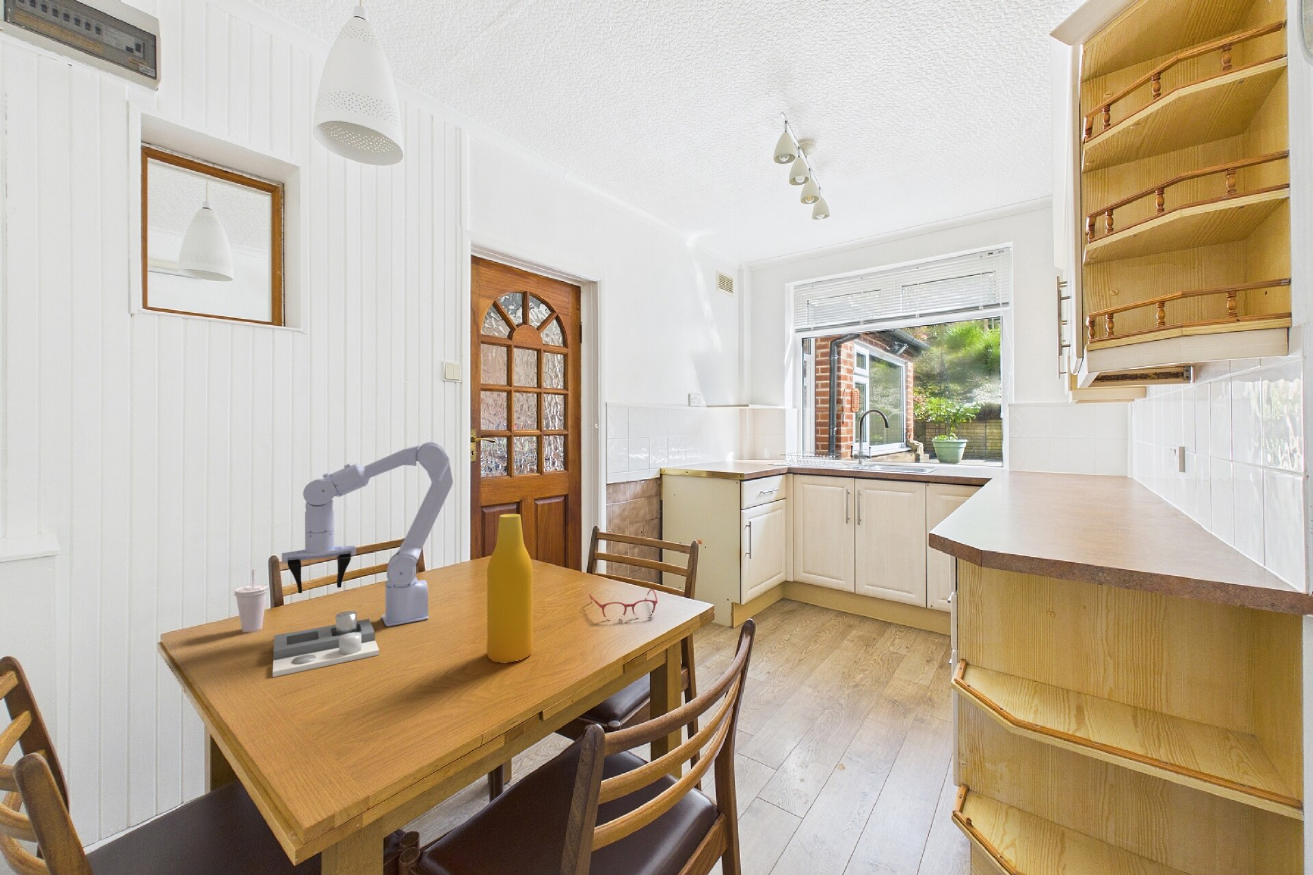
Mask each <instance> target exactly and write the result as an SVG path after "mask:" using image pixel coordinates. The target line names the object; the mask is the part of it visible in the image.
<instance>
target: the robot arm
mask: <svg viewBox="0 0 1313 875" xmlns="http://www.w3.org/2000/svg"><path fill="white" fill-rule="evenodd" d="M444 449H445V448H443V447H442V445H440V444H438V443H436V442H433V441H430V442H429V441H428V442H425V443H423V444H421V445H418V444H417V445H415V446H410V447H408V448H403V449H401V450H398V451H397V452H394V453H392V454H390V455H388V456H385V457H382V458H380V459H377V460H375V461H374V462H372V463H369V464H367V465H362V464H358V463H354V464H351V463H348V464H347V463H346V464H345V465H344V468H342V469H340V470H337V471H334V472H332V473H327V472H326V473H325V474H323V475H322V477H323V478H317V479H314V480H312V481H311V482H309V483H307V484H306V485H305V487H303V488H304V489H303V492H302V496H303V499H304V501H305V504H304V505H305V506H304V507H305V512H304V549H300V550H294V551H288V552H282V553H281V563H282V564H284V563H285V564H287V567H288V569H289V571H290V572H291V574H292V576H293V578H294V581H295V583H296V587H297V590H298V591H297V592H298V594H303V584H302V561H306V560H308V561H309V560H317V559H324V558H325V559H326V558H334V557H336V559H337V561H336V562H337V574H336V587H337V589H339V588H342V584H343V579H344V576H345V573H346V571H347V569H348V566H349V564H350V563H351V561H352V557H351V556H356V555H357V547H356V545H344V546H339V545H338V546H335V511H334V498H335V497H337V498H338V497H339V498H340V497H342V496H344V495H345V496H346V495H348V494H349V493H352V492H354V491H357V490H358V489H361V488H365V487H366V486H368V485H369V481H370V480H371V478H373V477H376V476H379V475H382V474H383V473H386V472H389V471H391V470H395V469H397V468H399V467H401V466H402V467H403V466H413V467H414V466H415V467H416V466H417V462H419V464H420V465H421V466H422V468H423V469H424V470H425V471H426V472H427V474H428V476H429V479H430V481H431V483H430V486H429V488H428V489H427V492H426V494H425V496H424V499H423V500H422V501H421V502H422V503H421V505H420V506H419V509H418V511H417V513H416V515H415V518H414V519H413V521H412V524H411V525H410V527H409V529H408V531H407V533H406V536H405V538H404V540H403V541H402V543H401V545H400V546H399V549H398V551H397V552H395V553H394V554H393V555H392V556H391V557H390V558H389V561H388V563H387V570H386V579H387V581H385V582H384V584H385V586H384V587H385V591H384V592H385V593H384V594H385V598H384V599H385V600H384V602H385V604H384V606H385V610H384V611H385V612H384V613H385V614H382V615H381V619H382V621H383V623H384V625H385V627H392V626H397V625H402V624H403V625H404V624H409V623H414V622H420V621H425V620H429V618H430V617H429V587H428V583H427V581H426V580H425V579H422V580H418V577H416V574H417V570H416V569H417V568H416V565H417V564H418V561H419V558H420V555H421V552H422V549H423V548H424V545H425V543H426V541H427V538H429V534H430V533H431V531H432V528H433V526H434V524H435V522H436V520H437V518H438V517H439V514H440V512H441V510H442V507H443V506H444V503H445V501H446V499H447V496H448V494H449V493H450V490H451V488H452V487H453V484H454V479H453V473H452V469H451V464H450V458H449V456H448V454H447V452H446V451H445V450H444Z"/></svg>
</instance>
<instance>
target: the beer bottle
mask: <svg viewBox="0 0 1313 875" xmlns="http://www.w3.org/2000/svg"><path fill="white" fill-rule="evenodd" d="M523 534H524V533H523V526H522V518H521V514H518V513H504V514H500V515H499V518H498V526H497V536H496V543H495V548H494V550H493V552H492V554H491V556H490V559H489V561H488V564H487V568H486V569H487V572H486V585H487V586H486V600H487V601H486V603H487V604H486V612H487V615H486V617H487V620H486V624H487V625H486V626H487V627H486V628H487V632H486V633H487V634H486V639H487V640H486V651H487V652H486V653H487V657H488V659H489V660H490V659H491V660H490V661H492V660H493V661H492V662H494V661H496V662H495V663H497V662H513V661H516V660H520V659H523V658H526V657H527V656H529V655H530V654H531V655H532V653H533V649H534V635H533V634H534V633H533V632H534V627H533V625H534V620H533V618H534V617H533V616H534V612H533V611H534V608H533V607H534V604H533V603H534V602H533V601H534V600H533V599H534V595H533V594H534V593H533V592H534V591H533V588H534V586H533V584H534V581H533V580H534V579H533V578H534V576H533V575H534V572H533V571H534V569H533V568H534V567H533V563H532V562H533V561H532V558H531V557H530V554H529V552H528V550H527V548H526V545H525V543H524V535H523ZM531 652H532V653H531ZM531 655H530V656H531ZM530 656H529V657H530ZM526 659H527V658H526Z"/></svg>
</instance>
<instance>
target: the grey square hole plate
mask: <svg viewBox="0 0 1313 875" xmlns="http://www.w3.org/2000/svg"><path fill="white" fill-rule="evenodd" d="M355 633H361V643H366V642H371V641H376V637H375V636H376V632H375V630H374V627H373V625H372V623H371V620H370V618H366V619H360V620H357V632H355ZM340 636H342V635H339V636H336V624H332V625H331V624H330V625H326V626H325V625H324V626H320V627H314V628H310V629H309V628H307V629H303V630H297V631H291V632H286V633H279V634H275V635H273V637H274V638H273V654H272V656H273V661H274V660H279V659H284V658H289V657H294V656H299V655H304V654H309V653H315V652H320V651H325V650H330V649H335V648H339V637H340Z"/></svg>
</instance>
